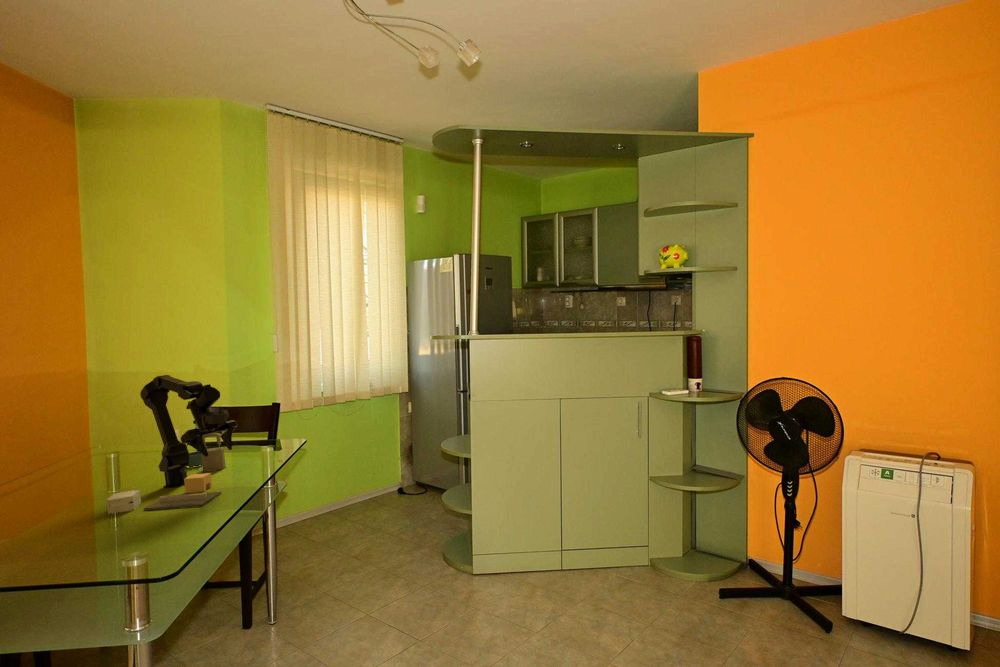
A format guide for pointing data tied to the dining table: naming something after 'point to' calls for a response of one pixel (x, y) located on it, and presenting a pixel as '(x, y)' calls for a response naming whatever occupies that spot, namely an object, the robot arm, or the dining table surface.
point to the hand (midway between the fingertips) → (219, 453)
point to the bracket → (195, 458)
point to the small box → (124, 501)
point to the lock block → (198, 482)
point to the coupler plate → (182, 500)
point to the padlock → (213, 456)
